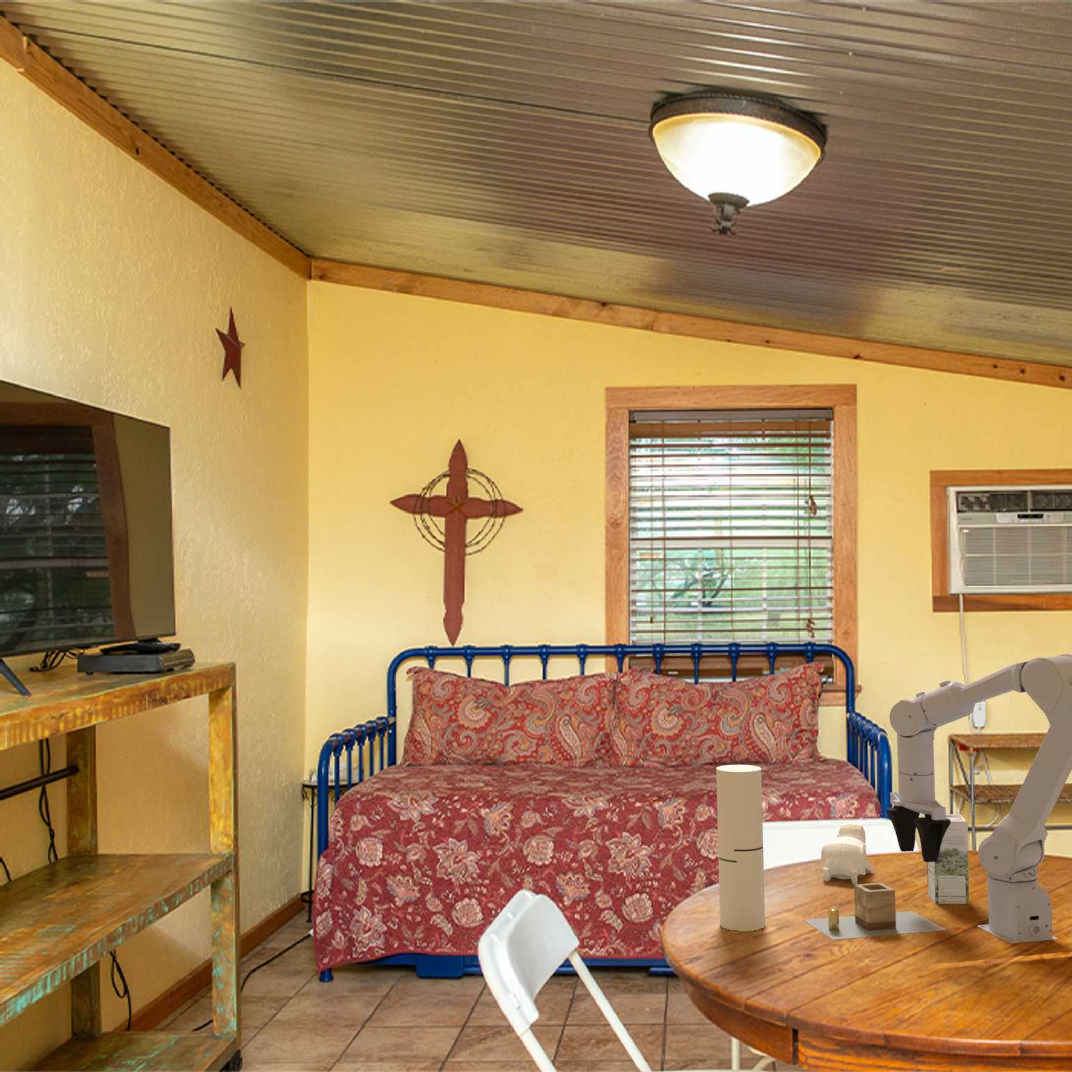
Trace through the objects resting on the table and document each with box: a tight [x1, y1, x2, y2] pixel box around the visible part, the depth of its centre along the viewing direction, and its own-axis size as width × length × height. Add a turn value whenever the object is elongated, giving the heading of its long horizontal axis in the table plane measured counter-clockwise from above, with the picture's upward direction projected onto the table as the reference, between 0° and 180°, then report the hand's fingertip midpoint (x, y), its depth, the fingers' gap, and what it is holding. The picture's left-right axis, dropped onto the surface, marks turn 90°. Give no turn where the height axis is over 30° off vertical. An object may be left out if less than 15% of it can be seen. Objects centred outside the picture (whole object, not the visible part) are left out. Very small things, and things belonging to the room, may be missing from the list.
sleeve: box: [853, 882, 897, 931], centre depth 194 cm, size 5×5×6 cm
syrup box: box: [926, 813, 970, 905], centre depth 208 cm, size 6×6×14 cm
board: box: [802, 910, 948, 941], centre depth 194 cm, size 11×19×1 cm, turn 102°
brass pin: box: [827, 908, 840, 931], centre depth 192 cm, size 2×2×4 cm
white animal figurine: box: [820, 822, 875, 885], centre depth 229 cm, size 8×8×15 cm
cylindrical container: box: [715, 764, 766, 932], centre depth 198 cm, size 7×7×25 cm
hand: (918, 856), depth 202 cm, fingers open, 7 cm apart
